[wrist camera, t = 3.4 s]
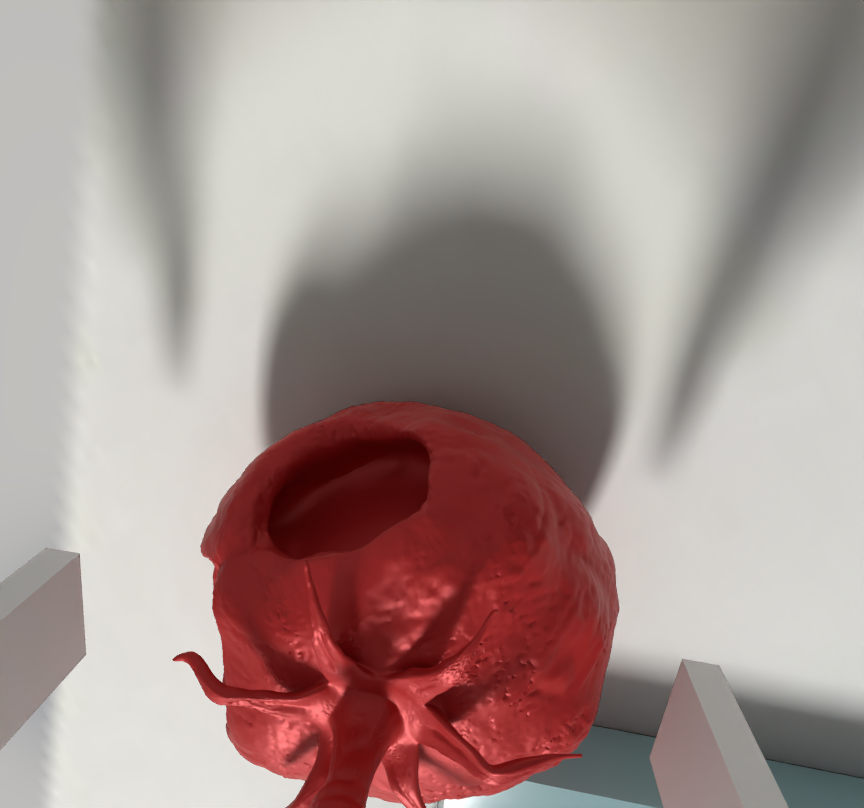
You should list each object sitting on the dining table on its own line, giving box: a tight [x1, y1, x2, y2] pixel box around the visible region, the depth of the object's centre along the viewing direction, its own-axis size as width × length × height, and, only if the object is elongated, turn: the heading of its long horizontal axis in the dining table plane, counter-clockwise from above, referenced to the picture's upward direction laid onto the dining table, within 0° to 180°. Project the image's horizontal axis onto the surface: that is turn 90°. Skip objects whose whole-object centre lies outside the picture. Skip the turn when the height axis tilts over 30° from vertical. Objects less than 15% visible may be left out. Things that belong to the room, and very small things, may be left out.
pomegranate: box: [173, 401, 619, 808], centre depth 14 cm, size 10×10×9 cm
